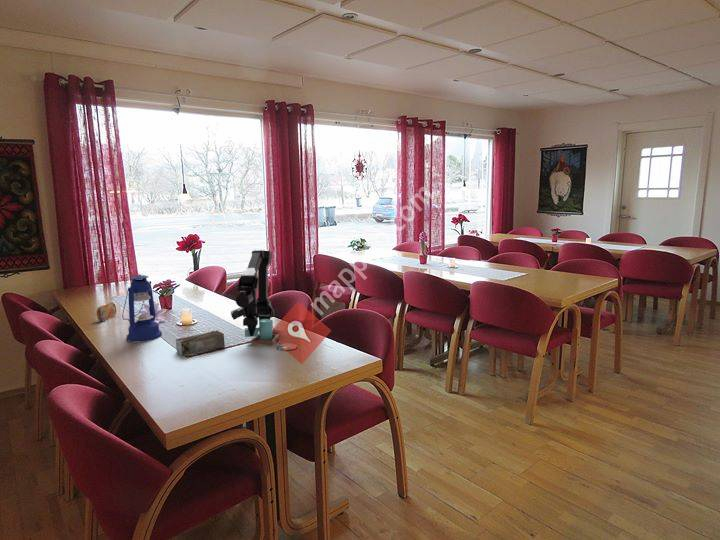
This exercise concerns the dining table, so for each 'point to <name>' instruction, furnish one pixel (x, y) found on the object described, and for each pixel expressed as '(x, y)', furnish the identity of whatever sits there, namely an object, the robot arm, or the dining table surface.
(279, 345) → the coaster
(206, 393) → the dining table surface
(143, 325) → the lantern
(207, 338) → the grey brown rectangular block
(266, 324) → the jug
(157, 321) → the water lily
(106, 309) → the tin
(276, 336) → the holder
